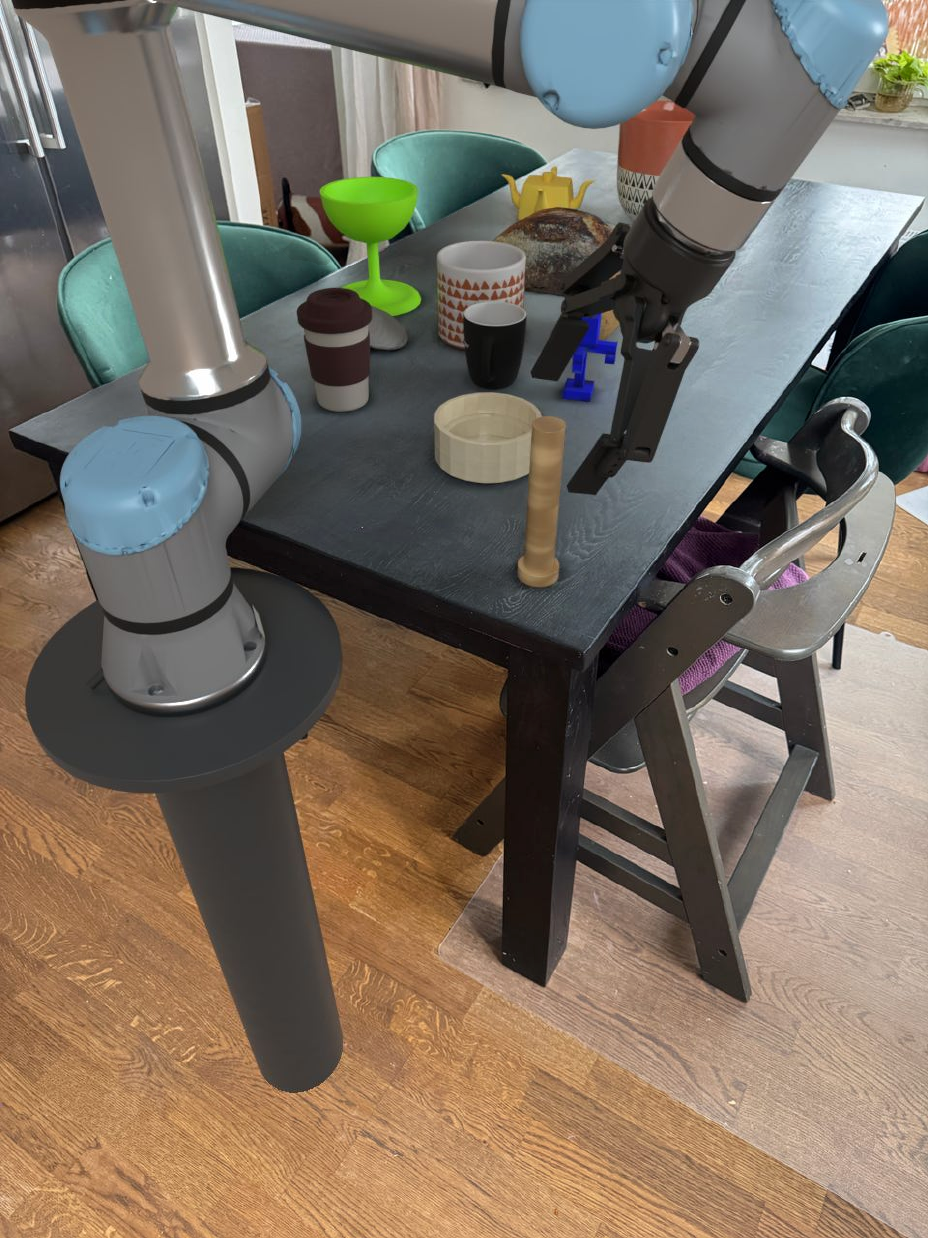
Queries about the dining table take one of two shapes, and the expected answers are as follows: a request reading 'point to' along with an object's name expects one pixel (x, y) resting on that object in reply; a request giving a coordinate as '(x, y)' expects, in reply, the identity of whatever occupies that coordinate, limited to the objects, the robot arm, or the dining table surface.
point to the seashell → (386, 331)
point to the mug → (494, 342)
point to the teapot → (545, 193)
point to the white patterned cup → (475, 282)
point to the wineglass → (374, 231)
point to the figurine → (590, 344)
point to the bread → (555, 244)
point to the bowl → (484, 437)
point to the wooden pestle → (543, 502)
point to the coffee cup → (337, 346)
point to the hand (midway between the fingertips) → (561, 431)
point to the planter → (647, 151)
